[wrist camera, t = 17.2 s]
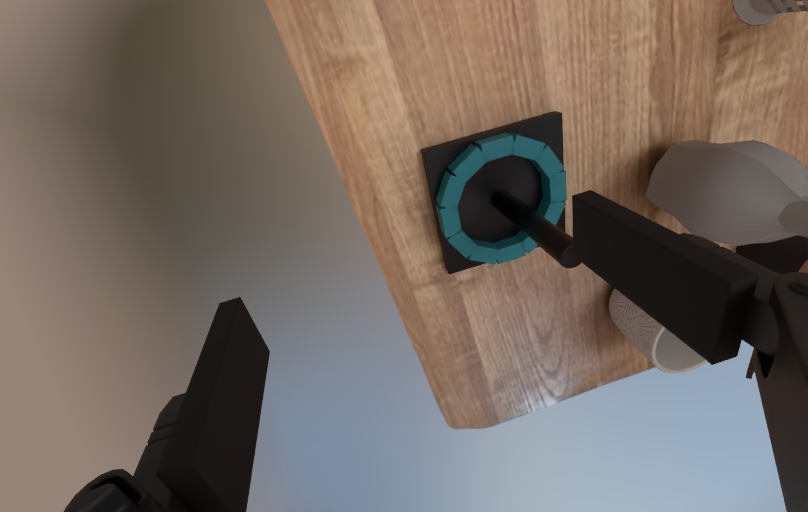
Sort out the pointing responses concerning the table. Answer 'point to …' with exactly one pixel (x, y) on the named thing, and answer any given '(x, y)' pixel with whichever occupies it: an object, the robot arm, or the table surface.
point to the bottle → (732, 191)
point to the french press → (765, 9)
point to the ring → (470, 164)
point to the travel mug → (779, 254)
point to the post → (502, 194)
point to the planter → (652, 337)
